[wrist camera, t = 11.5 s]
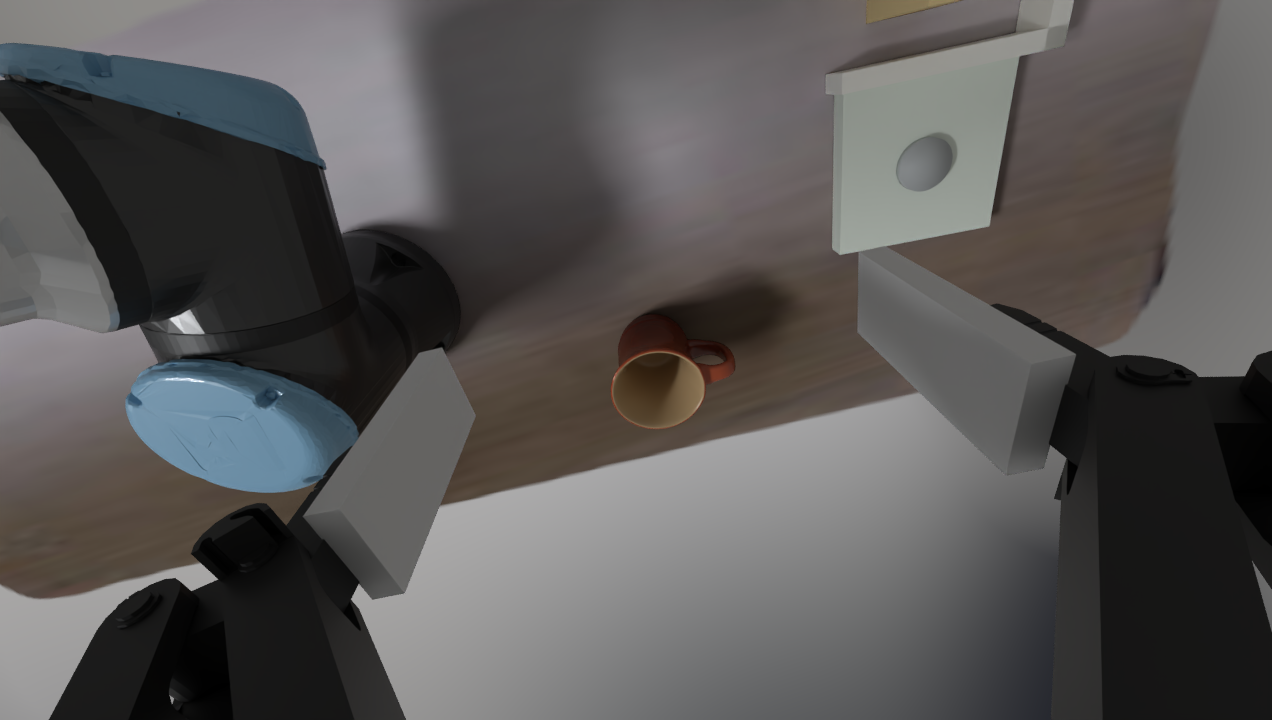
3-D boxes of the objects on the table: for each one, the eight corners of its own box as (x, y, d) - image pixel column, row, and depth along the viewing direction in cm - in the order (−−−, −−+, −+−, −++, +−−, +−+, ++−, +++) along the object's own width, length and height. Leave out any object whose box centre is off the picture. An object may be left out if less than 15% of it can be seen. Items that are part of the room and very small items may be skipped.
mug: (623, 381, 55) (623, 437, 46) (603, 313, 51) (599, 361, 42) (725, 359, 54) (746, 412, 45) (714, 288, 50) (734, 332, 41)
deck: (824, 250, 48) (838, 261, 45) (826, -144, 34) (847, -168, 31) (999, 216, 47) (1025, 225, 44) (1078, -208, 32) (1125, -239, 29)
